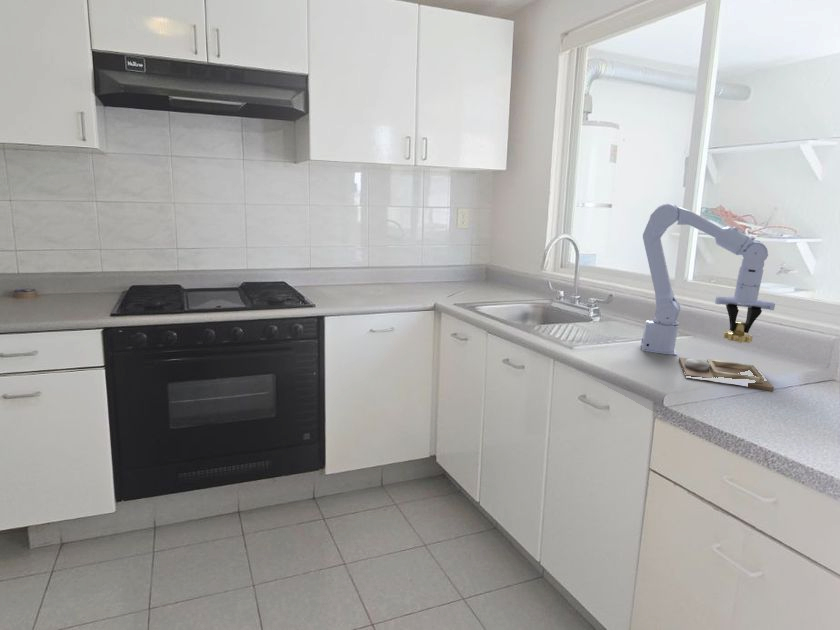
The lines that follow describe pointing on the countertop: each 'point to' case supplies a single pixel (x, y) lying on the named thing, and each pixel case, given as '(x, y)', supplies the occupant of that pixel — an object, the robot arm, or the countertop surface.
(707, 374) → the carrier board
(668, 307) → the robot arm
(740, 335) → the planet gear
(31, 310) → the countertop surface
